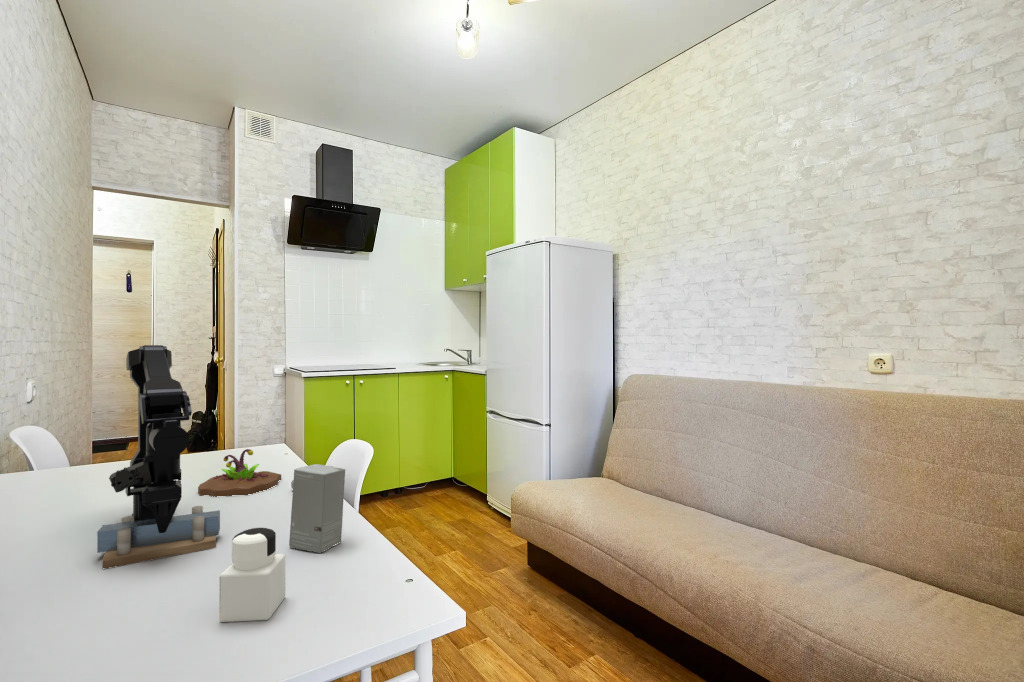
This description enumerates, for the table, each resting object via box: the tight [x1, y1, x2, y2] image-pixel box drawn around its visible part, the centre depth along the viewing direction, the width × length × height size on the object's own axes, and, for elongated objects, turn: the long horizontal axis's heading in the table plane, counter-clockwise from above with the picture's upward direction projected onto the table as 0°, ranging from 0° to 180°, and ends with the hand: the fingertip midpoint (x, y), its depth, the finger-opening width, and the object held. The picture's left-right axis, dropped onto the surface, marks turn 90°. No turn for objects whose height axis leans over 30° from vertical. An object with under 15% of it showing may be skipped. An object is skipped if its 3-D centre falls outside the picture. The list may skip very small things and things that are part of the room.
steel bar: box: [96, 509, 221, 554], centre depth 102 cm, size 20×4×4 cm, turn 116°
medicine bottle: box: [219, 527, 286, 623], centre depth 78 cm, size 7×7×12 cm
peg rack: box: [101, 505, 217, 570], centre depth 103 cm, size 12×18×6 cm, turn 123°
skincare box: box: [288, 463, 346, 554], centre depth 104 cm, size 8×7×16 cm
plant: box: [197, 448, 282, 498], centre depth 147 cm, size 20×20×11 cm
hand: (163, 525), depth 102 cm, fingers open, 9 cm apart
